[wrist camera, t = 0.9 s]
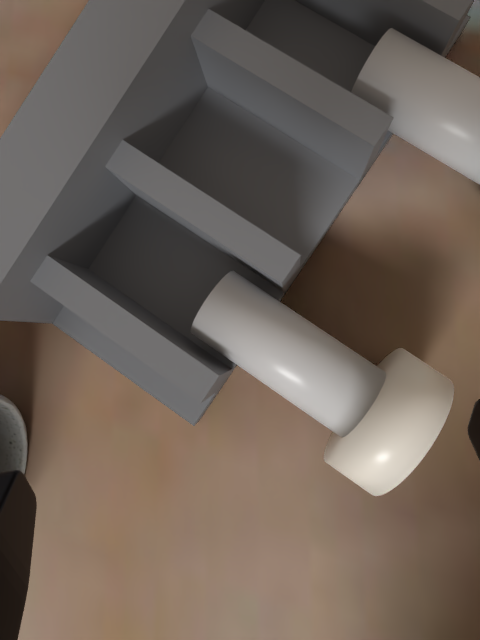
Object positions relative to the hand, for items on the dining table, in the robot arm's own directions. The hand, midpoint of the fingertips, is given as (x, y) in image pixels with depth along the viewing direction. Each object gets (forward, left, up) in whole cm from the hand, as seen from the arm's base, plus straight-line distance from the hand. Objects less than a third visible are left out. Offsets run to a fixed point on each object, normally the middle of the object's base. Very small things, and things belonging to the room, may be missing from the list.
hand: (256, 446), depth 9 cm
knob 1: (0, -2, -12) cm, 12 cm away
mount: (+8, -7, -12) cm, 16 cm away
